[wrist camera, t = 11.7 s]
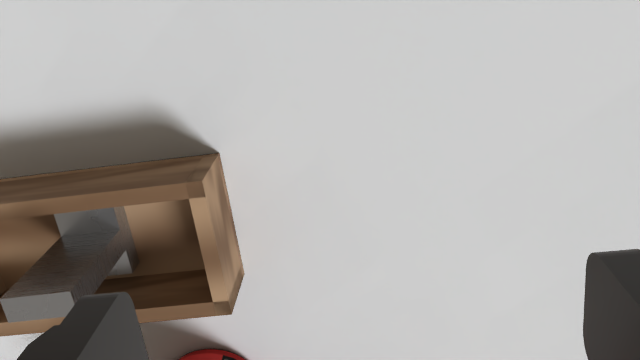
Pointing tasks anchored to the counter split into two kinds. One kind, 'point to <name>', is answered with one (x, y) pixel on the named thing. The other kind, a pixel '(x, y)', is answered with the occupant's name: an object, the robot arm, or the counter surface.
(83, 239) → the bracket
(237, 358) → the canned food
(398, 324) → the counter surface
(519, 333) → the counter surface
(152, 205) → the open wooden box
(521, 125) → the counter surface
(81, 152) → the counter surface
